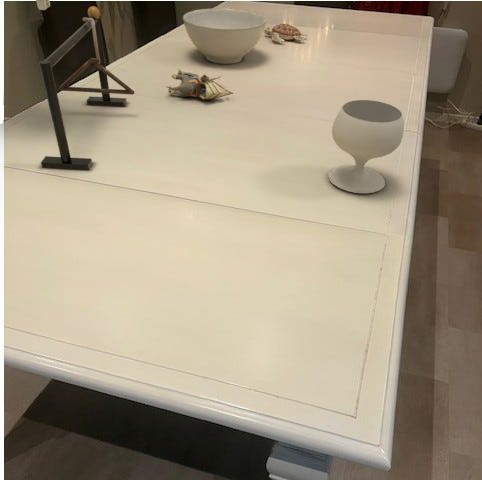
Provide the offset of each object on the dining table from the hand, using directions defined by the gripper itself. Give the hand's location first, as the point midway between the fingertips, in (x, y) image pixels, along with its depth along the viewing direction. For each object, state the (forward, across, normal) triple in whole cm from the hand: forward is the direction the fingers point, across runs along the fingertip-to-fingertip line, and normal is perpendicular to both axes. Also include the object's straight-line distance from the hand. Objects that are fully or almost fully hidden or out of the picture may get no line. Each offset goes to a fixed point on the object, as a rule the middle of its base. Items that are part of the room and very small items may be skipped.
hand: (44, 8), depth 106 cm
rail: (+24, +8, +8) cm, 26 cm away
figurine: (+24, -20, +33) cm, 45 cm away
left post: (+24, -11, +8) cm, 28 cm away
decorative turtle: (+24, -86, +58) cm, 106 cm away
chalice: (+24, +25, +70) cm, 78 cm away
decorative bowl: (+24, -57, +37) cm, 72 cm away
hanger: (+19, -4, +8) cm, 20 cm away
